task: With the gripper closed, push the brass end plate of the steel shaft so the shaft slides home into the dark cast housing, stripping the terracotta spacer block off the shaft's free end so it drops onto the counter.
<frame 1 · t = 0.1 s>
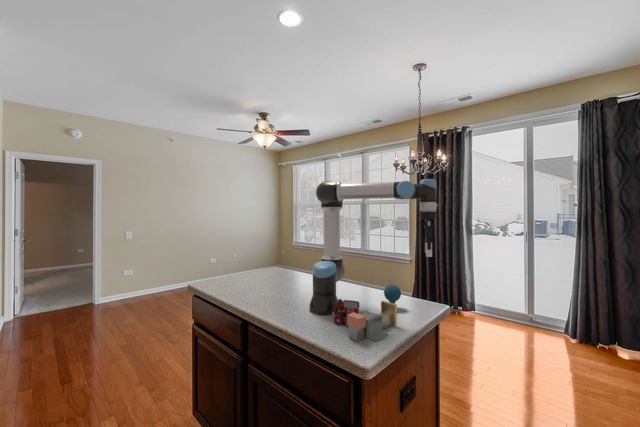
hand: (428, 254, 138), 28 cm above the counter, fingers open, 13 cm apart
teal egg: (392, 308, 144), on the counter
toy fire truck: (345, 323, 125), on the counter
spacer: (356, 325, 109), point 5 cm above the counter, touching shaft
housing: (367, 333, 114), on the counter
shaft: (372, 319, 116), point 5 cm above the counter, slide at 0.0 cm, touching spacer
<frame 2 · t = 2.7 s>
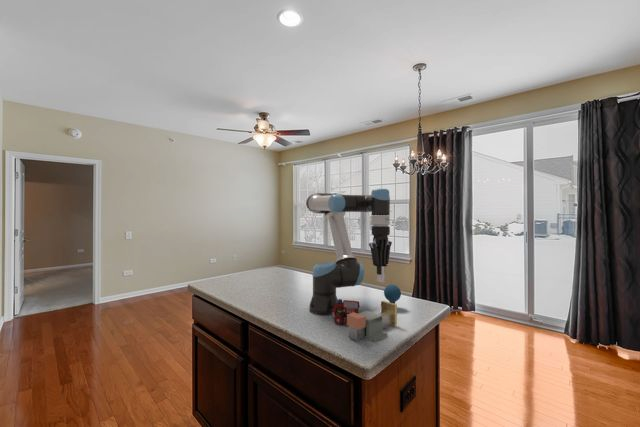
hand: (380, 281, 119), 19 cm above the counter, fingers closed
nothing on the counter moved.
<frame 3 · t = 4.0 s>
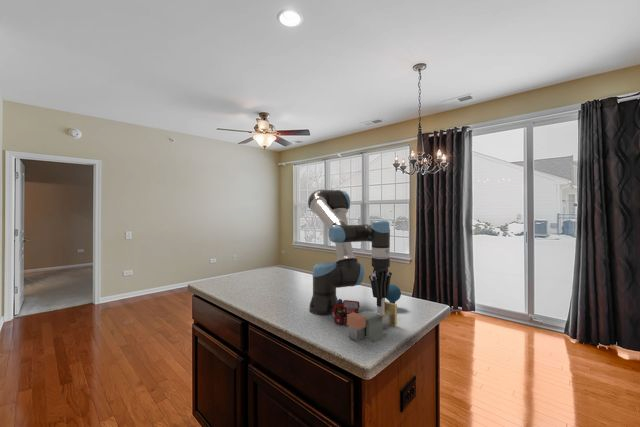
hand: (380, 313, 119), 6 cm above the counter, fingers closed
nothing on the counter moved.
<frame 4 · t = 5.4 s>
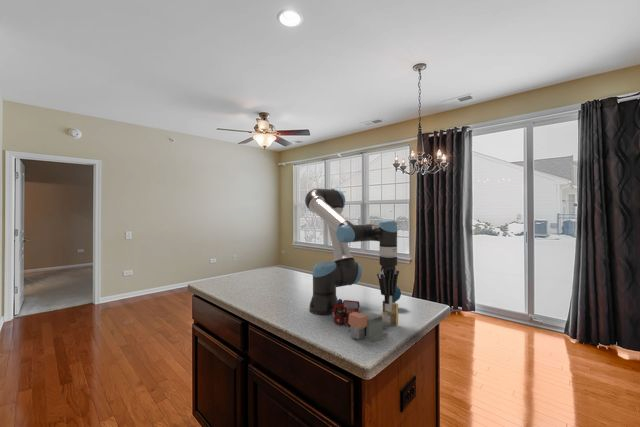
hand: (388, 310, 123), 6 cm above the counter, fingers closed
shaft: (374, 318, 116), point 5 cm above the counter, slide at 1.1 cm, touching gripper, spacer
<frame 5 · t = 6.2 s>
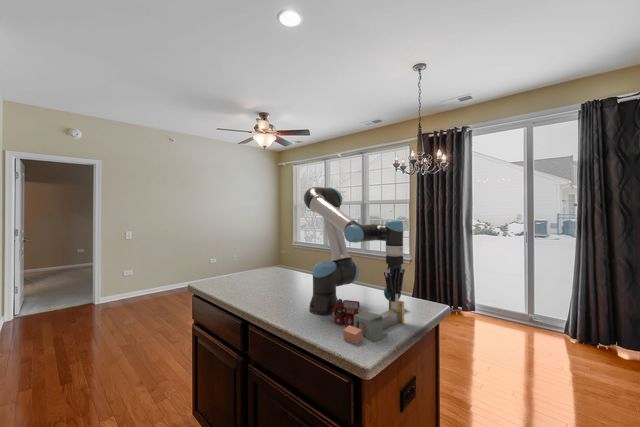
hand: (394, 308, 126), 6 cm above the counter, fingers closed
spacer: (356, 332, 109), point 2 cm above the counter, tilted 100°
shaft: (381, 316, 119), point 5 cm above the counter, slide at 5.7 cm, touching gripper
everything else where it was.
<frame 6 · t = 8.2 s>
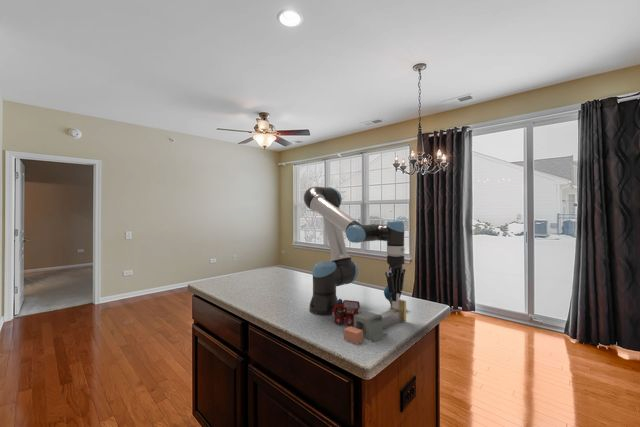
hand: (395, 307, 127), 6 cm above the counter, fingers closed
spacer: (356, 333, 109), point 2 cm above the counter, tilted 90°
shaft: (383, 315, 121), point 5 cm above the counter, slide at 7.3 cm, touching gripper
everything else where it was.
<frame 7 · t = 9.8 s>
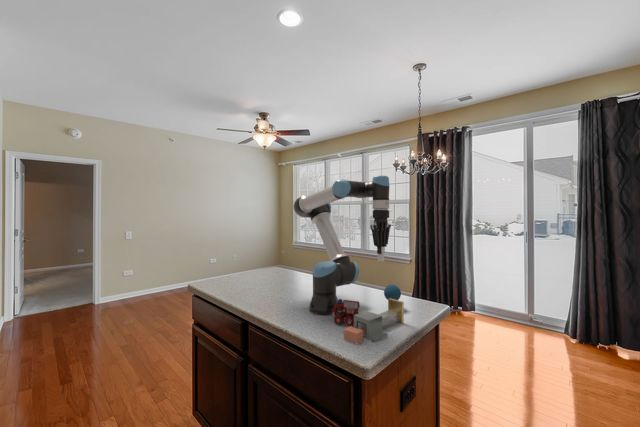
hand: (380, 260, 131), 26 cm above the counter, fingers closed
shaft: (380, 316, 119), point 5 cm above the counter, slide at 5.3 cm
everything else where it was.
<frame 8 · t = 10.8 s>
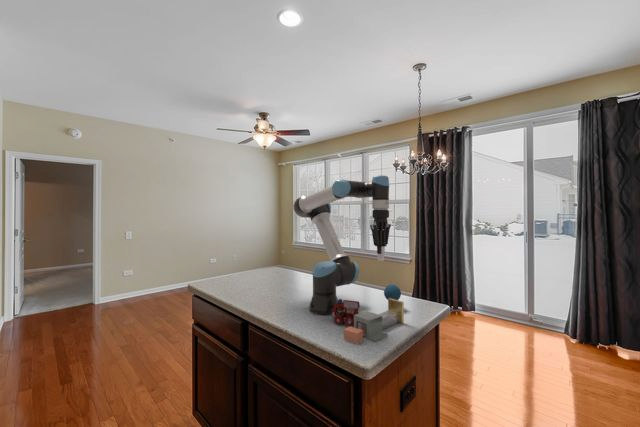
hand: (380, 260, 131), 26 cm above the counter, fingers closed
nothing on the counter moved.
at the end: spacer point 1.8 cm above the counter; spacer touching counter; shaft slide at 5.3 cm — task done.
